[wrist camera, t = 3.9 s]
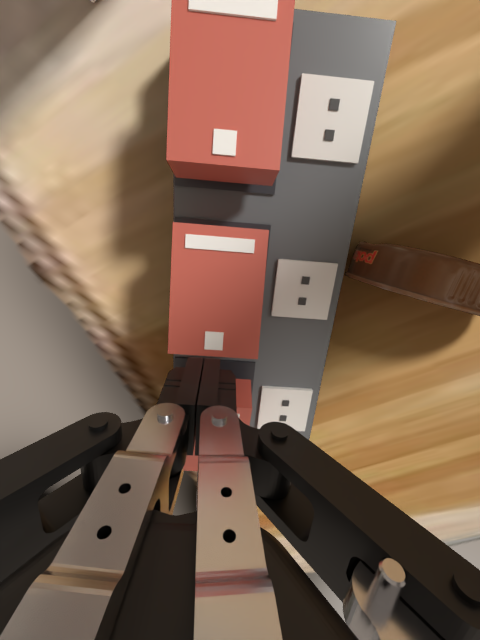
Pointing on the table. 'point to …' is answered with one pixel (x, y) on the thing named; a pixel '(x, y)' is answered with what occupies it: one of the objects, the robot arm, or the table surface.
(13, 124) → the table surface
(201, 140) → the block
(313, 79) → the power strip
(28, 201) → the table surface
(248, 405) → the rocker
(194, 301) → the block
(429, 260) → the tin
